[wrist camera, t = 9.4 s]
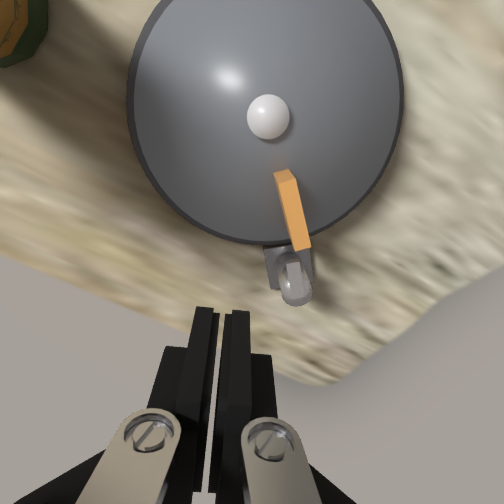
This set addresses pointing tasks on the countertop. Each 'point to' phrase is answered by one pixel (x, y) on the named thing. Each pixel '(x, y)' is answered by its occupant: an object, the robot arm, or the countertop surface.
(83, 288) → the countertop surface
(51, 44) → the countertop surface
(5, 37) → the bottle
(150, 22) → the turntable base
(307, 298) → the capsule on square base
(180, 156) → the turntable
